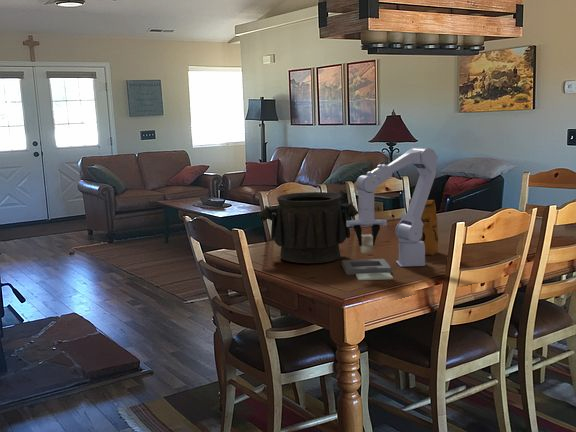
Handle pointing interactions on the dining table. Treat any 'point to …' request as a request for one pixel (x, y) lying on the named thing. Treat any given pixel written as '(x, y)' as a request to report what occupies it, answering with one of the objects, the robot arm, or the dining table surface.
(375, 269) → the holder plate
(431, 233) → the coffee package
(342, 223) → the vessel
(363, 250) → the cream block
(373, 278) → the green tile
